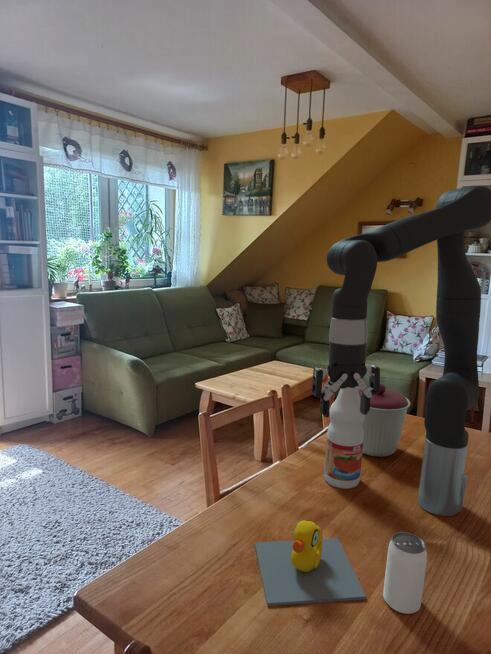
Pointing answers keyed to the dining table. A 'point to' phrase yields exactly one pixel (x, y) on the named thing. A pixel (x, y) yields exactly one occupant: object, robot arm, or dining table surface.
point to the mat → (306, 575)
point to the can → (405, 573)
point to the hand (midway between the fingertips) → (344, 414)
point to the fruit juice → (344, 440)
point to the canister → (384, 422)
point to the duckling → (306, 546)
